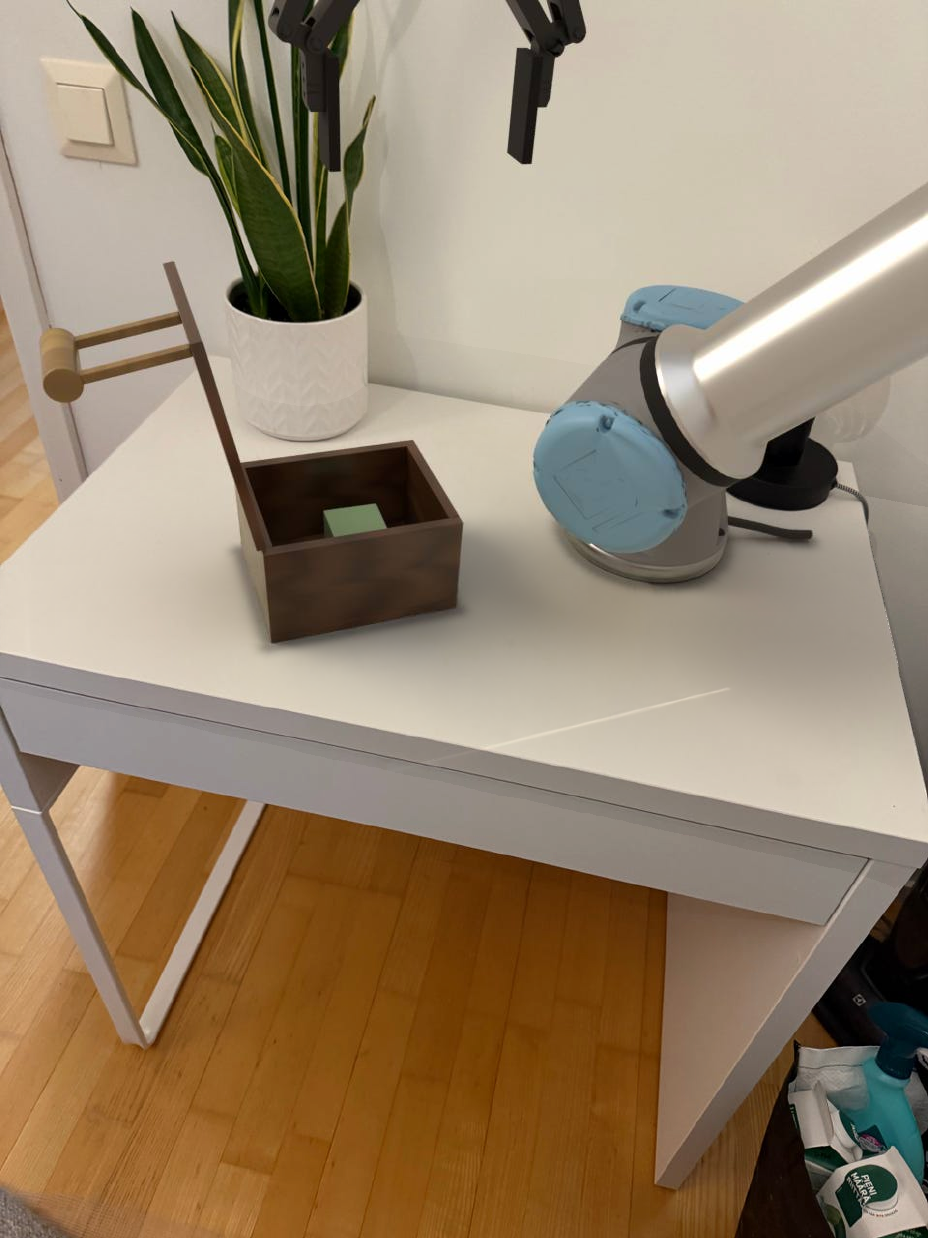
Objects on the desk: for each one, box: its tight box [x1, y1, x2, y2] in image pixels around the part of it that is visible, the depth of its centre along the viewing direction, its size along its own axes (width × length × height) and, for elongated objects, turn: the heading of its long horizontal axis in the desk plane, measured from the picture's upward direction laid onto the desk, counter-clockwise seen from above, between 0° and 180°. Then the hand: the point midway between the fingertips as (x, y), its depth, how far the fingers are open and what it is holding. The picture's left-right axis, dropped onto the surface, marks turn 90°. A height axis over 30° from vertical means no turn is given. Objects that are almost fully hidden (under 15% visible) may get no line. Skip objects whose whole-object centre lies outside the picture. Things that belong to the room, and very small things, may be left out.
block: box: [323, 504, 387, 538], centre depth 80 cm, size 5×5×5 cm
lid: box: [38, 260, 267, 551], centre depth 66 cm, size 17×13×10 cm
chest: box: [233, 439, 464, 644], centre depth 78 cm, size 16×13×9 cm
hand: (427, 162), depth 64 cm, fingers open, 13 cm apart
